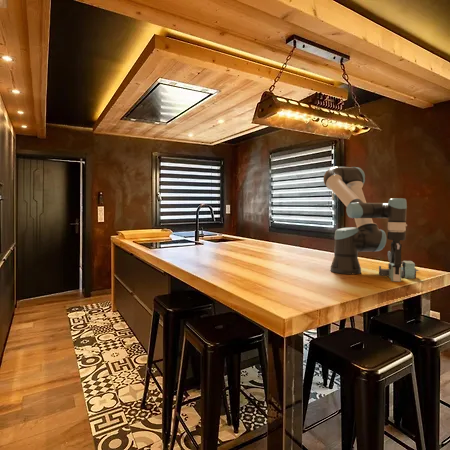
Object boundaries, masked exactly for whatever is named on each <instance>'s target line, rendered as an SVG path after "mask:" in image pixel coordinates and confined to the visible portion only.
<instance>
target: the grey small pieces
mask: <svg viewBox="0 0 450 450" xmlns="http://www.w3.org/2000/svg"><path fill="white" fill-rule="evenodd" d="M387 260H388V263H389V264H390V263H391V261H390V260H391V250H388V251H387ZM401 270H403V267H402V268H401ZM416 272H419V269H417V268H416Z"/></svg>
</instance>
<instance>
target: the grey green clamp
mask: <svg viewBox="0 0 450 450" xmlns="http://www.w3.org/2000/svg"><path fill="white" fill-rule="evenodd" d="M401 266H402V267H403V270H401V278H405V279H414V280H415V279H416V278H417V271H416V269H417V268H416V264H415V262H413V261H412V260H401ZM389 270H390V269H389V268H382V266H381V265H378V275H379V276H383V277H389Z"/></svg>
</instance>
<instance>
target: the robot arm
mask: <svg viewBox="0 0 450 450" xmlns="http://www.w3.org/2000/svg"><path fill="white" fill-rule="evenodd" d="M365 178H366V175H365V172H364V170H363V169H362V168H361V167H356V166H351V167H349V166H332V167H330V168H328V170H326V172H325V173H324V175H323V184H324V186H325V187H326V188H327V189H328V190H331V191H332V192H333V193H334V195H336V197H337V198H338V199H339V200H340V201H341V202H342V204H344V206H345V207H346V209H345V210H346V211H345V212H346V215H347V216H348V218H349V219H354V222H355V225H356V226H354V227H352V226H351V227H342V228H337V229H336V230H335V232H334V236H333V237H334V242H333V243H334V245H333V246H334V249H333V250H334V256H333V260H332V262H331V265H330V272H332V273H336V274H343V275H359V274H361V272H362V268H361V264H360V261H359V258H358V255H359V254H358V253H361V252H362V253H363V252H365V253H368V252H370V253H371V252H372V253H374V252H375V253H376V252H380V251H382V250H383V249H385V246H386V244H387V240H389V241H391V242H390V247H391V249H390V252H391V260H390V261H391V263H394V265H393V266H392V267H393V281H392V282H398V281H399V282H400V267H401V266H402V247H403V246H402V245H403V244H401V241H406V239H407V238H406V235H407V234H406V231H407V230H406V229H407V227H408V224H407V210H408V209H407V208H408V206H407V205H408V204H407V199H406V198H401V197H400V198H397V197H396V198H389V199H388V201H387V202H367V201H366V197H365V195H364V194H365V193H364V191H363V189H362V188H363V186H364V184H365V182H366V179H365ZM373 219H387V232H385V230H384V229H379V226H378V224H377V223H375V222H374V221H373ZM386 233H387V234H386ZM400 283H401V282H400Z"/></svg>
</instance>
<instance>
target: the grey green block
mask: <svg viewBox="0 0 450 450" xmlns="http://www.w3.org/2000/svg"><path fill="white" fill-rule="evenodd" d="M393 265H394V263H390V262H388V267H387V269H390V270H389V276H388V277H389V279H390V282H394V281H393V267H392V266H393ZM401 268H402V265H401V267H400V283H401V282H402V277H401ZM398 282H399V281H397V283H398Z"/></svg>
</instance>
